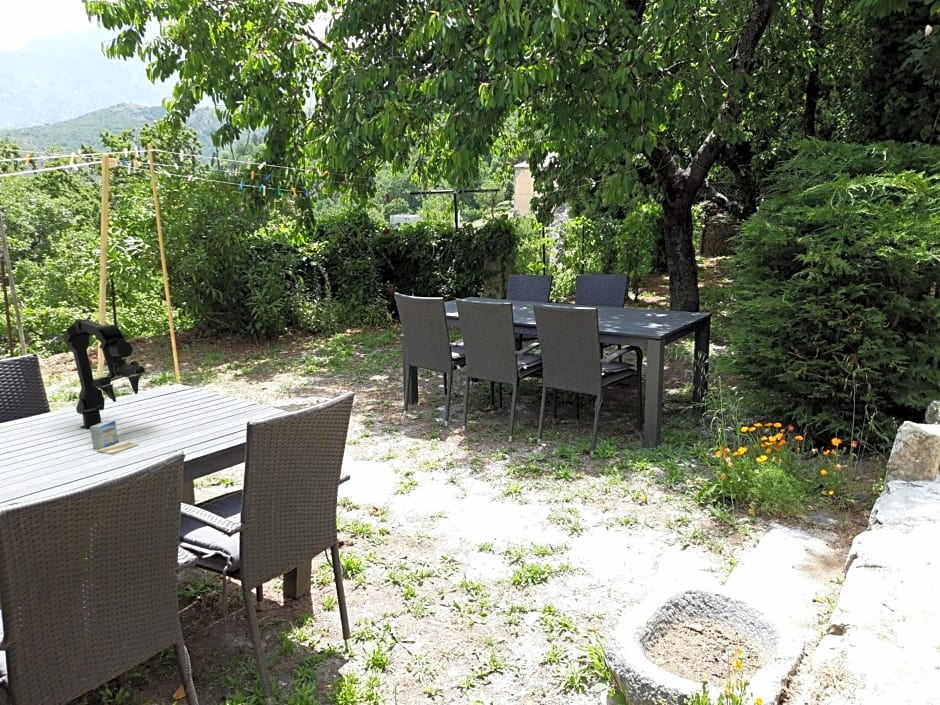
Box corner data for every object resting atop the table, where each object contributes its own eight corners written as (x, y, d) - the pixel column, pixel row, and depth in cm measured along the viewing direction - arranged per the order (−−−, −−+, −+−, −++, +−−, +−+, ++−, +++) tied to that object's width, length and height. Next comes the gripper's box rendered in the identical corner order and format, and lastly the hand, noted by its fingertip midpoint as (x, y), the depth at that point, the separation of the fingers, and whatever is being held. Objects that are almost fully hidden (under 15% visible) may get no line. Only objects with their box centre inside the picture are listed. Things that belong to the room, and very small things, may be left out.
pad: (96, 452, 247) (96, 450, 247) (123, 442, 257) (123, 441, 257) (112, 454, 244) (111, 453, 243) (138, 445, 253) (138, 443, 253)
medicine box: (103, 449, 249) (100, 426, 248) (92, 449, 250) (89, 426, 249) (118, 443, 257) (115, 420, 255) (108, 442, 258) (105, 420, 256)
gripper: (103, 363, 249) (116, 404, 252) (148, 350, 265) (160, 389, 268) (85, 365, 255) (98, 406, 258) (130, 352, 271) (142, 390, 274)
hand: (125, 397), depth 264 cm, fingers open, 9 cm apart
